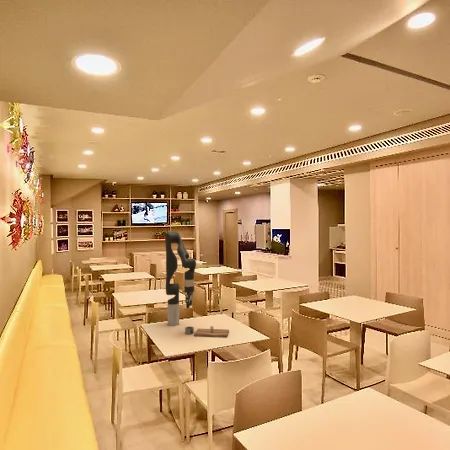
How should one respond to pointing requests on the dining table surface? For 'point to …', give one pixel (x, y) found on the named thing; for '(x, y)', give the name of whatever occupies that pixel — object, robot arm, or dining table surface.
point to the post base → (211, 332)
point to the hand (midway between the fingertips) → (189, 306)
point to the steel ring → (189, 330)
